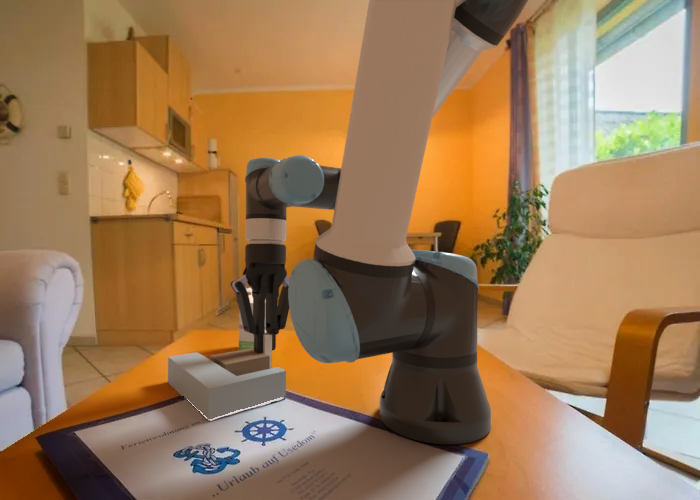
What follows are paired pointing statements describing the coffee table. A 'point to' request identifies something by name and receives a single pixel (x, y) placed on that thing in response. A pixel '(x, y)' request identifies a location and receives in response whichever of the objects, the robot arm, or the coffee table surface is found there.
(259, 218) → the robot arm
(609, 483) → the coffee table surface
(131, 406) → the coffee table surface
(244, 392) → the gray l-shaped block
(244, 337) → the ink box
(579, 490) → the coffee table surface
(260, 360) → the walnut block
